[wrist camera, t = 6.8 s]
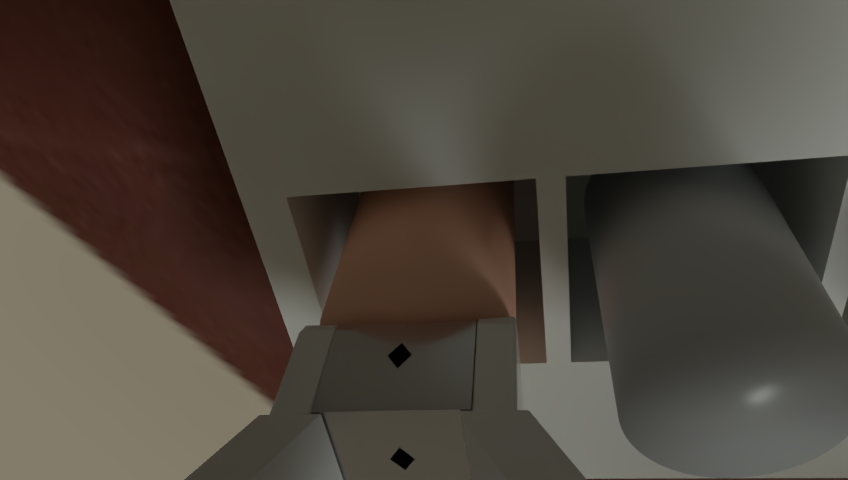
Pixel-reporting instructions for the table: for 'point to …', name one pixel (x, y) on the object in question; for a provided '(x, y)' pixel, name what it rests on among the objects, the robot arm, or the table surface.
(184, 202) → the table surface
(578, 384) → the white compartment tray
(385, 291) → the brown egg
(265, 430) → the robot arm
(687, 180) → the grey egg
